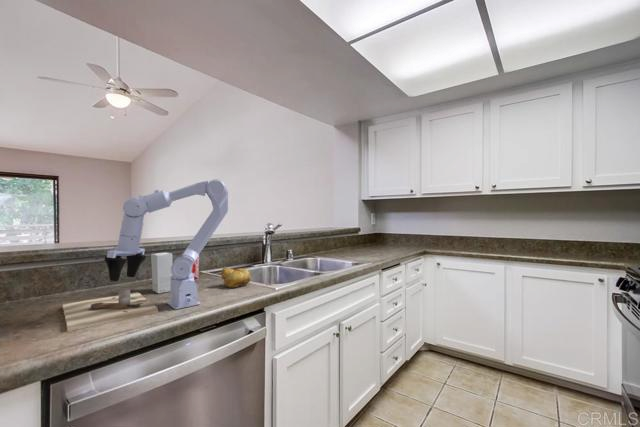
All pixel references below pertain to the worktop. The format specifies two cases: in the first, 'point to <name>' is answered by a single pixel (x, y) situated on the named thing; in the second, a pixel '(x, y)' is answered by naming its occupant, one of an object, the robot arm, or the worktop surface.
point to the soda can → (196, 269)
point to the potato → (235, 277)
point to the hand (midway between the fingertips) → (122, 278)
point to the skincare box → (161, 272)
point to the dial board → (104, 311)
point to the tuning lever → (123, 303)
